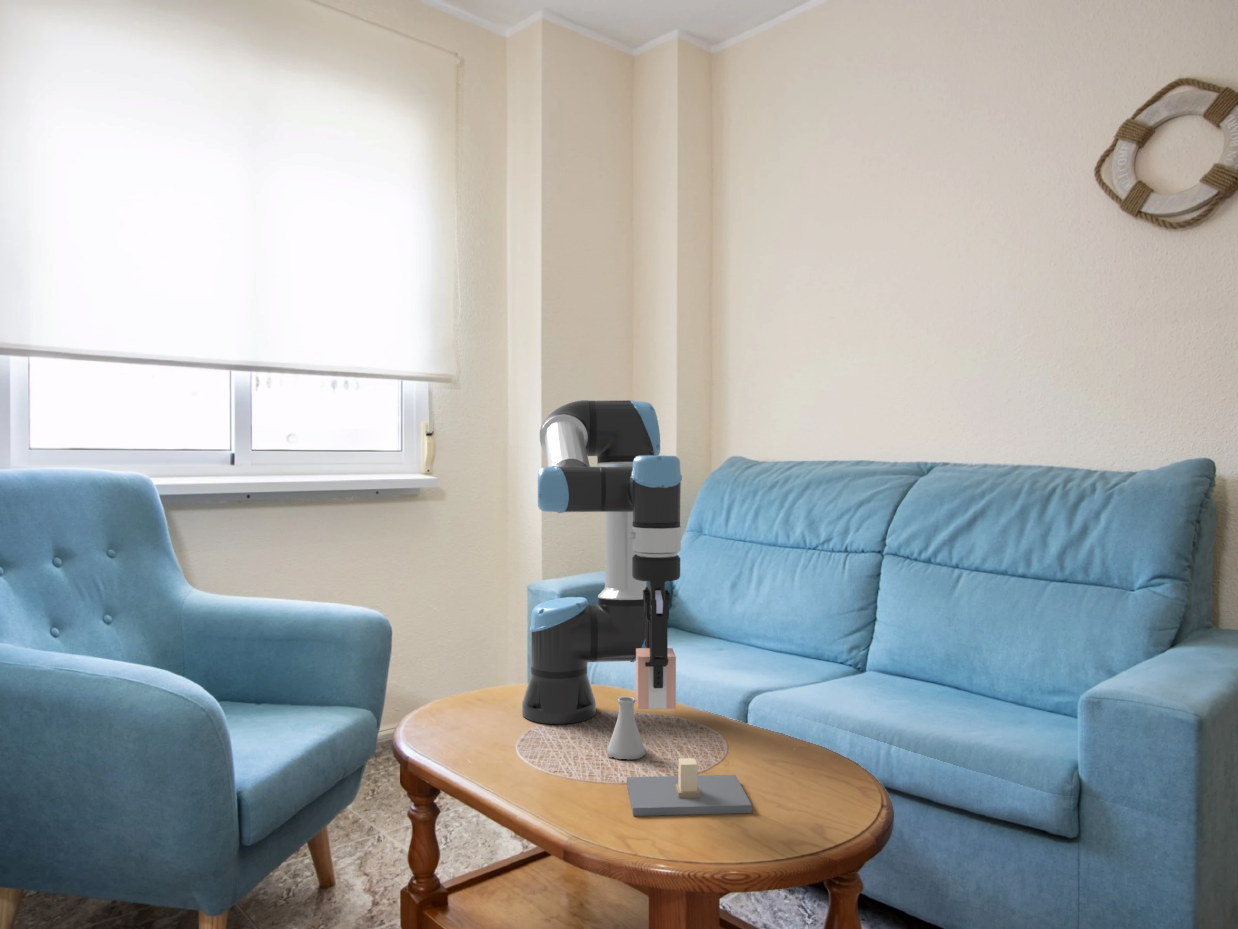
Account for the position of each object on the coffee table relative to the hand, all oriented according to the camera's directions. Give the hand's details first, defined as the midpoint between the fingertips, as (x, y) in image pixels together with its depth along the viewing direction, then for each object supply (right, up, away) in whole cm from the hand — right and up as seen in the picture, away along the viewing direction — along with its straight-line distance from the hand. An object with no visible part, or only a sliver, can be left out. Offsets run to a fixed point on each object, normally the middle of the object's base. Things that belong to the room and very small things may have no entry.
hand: (655, 701), depth 137 cm
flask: (-4, -15, +20) cm, 26 cm away
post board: (+5, -15, +1) cm, 16 cm away
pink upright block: (0, 0, 0) cm, 0 cm away
